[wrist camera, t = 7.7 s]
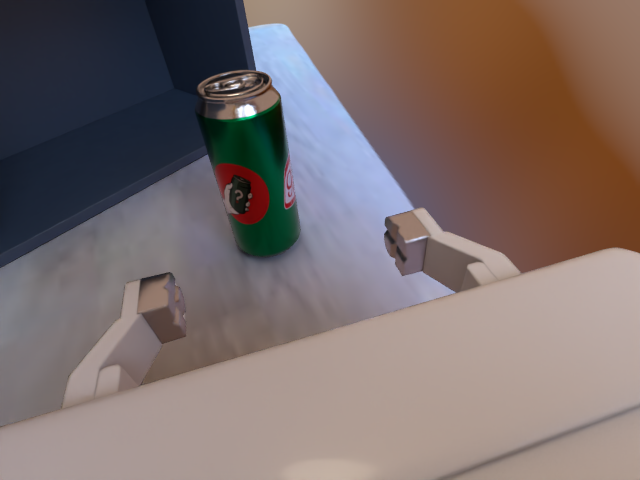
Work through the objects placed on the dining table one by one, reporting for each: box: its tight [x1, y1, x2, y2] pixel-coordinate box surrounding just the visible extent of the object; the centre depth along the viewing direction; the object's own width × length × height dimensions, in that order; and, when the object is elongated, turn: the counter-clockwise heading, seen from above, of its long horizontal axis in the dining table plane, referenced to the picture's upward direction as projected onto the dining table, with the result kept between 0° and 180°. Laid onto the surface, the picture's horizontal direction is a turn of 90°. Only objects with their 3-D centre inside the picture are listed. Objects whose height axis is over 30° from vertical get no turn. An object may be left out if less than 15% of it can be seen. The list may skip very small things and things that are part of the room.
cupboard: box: [0, 0, 256, 268], centre depth 33 cm, size 18×30×24 cm, turn 140°
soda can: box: [195, 70, 301, 257], centre depth 25 cm, size 5×5×12 cm
